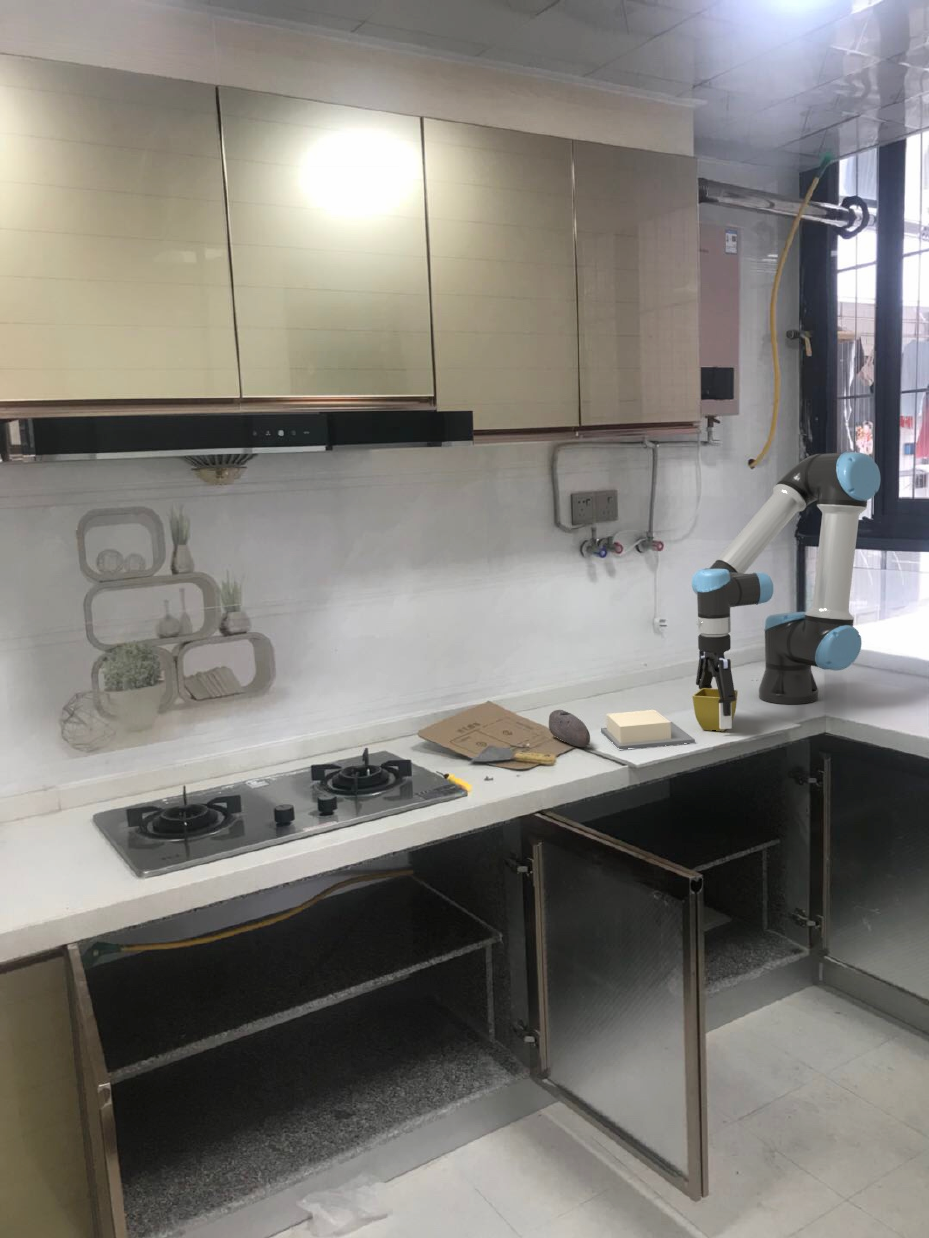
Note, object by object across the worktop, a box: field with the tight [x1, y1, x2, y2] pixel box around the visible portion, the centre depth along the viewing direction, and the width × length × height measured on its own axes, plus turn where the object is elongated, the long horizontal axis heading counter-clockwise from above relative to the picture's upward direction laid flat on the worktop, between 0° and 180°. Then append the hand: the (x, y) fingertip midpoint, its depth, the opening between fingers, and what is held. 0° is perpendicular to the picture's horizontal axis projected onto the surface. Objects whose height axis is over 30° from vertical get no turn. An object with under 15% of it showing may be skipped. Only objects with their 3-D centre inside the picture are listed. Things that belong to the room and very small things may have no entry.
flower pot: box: [692, 688, 739, 732], centre depth 230 cm, size 9×9×9 cm
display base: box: [600, 709, 696, 749], centre depth 227 cm, size 18×16×5 cm
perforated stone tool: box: [548, 709, 591, 748], centre depth 225 cm, size 15×5×7 cm, turn 23°
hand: (715, 721), depth 231 cm, fingers closed on flower pot, 12 cm apart
